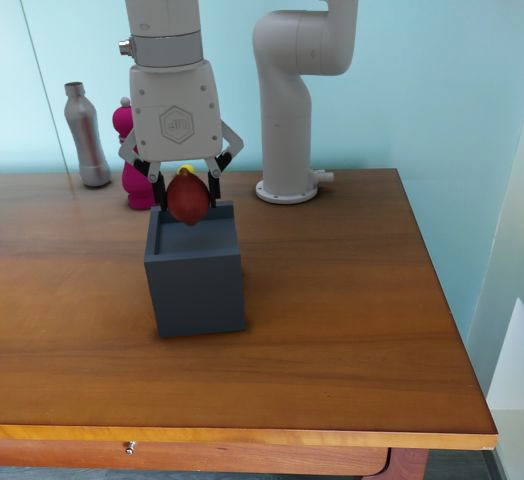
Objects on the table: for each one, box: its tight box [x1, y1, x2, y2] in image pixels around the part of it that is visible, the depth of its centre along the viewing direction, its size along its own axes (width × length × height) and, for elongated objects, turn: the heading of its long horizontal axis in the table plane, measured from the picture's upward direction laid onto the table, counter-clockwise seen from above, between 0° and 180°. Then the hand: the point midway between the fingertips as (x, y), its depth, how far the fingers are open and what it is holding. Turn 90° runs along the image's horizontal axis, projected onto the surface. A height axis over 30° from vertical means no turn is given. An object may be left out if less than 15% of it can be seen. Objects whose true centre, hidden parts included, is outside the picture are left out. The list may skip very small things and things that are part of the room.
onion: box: [166, 167, 210, 226], centre depth 68 cm, size 6×6×8 cm
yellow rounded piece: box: [174, 163, 196, 177], centre depth 115 cm, size 3×6×4 cm, turn 43°
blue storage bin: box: [143, 200, 247, 339], centre depth 75 cm, size 12×16×12 cm
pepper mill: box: [111, 96, 159, 210], centre depth 100 cm, size 7×7×20 cm
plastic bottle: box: [63, 81, 111, 187], centre depth 109 cm, size 6×7×20 cm
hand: (189, 204), depth 69 cm, fingers closed on onion, 5 cm apart
